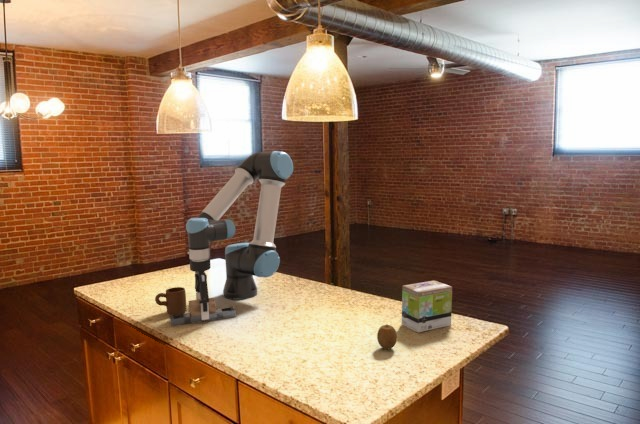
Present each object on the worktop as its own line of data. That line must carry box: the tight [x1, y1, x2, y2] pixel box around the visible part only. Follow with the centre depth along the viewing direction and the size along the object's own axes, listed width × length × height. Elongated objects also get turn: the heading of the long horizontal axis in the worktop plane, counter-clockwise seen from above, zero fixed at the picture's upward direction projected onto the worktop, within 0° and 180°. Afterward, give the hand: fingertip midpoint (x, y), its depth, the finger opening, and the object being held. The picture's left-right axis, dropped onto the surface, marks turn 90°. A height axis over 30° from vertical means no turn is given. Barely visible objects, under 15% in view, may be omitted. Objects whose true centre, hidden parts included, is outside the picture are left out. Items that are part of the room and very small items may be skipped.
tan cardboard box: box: [188, 297, 217, 317], centre depth 180 cm, size 9×7×7 cm
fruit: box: [376, 324, 398, 350], centre depth 149 cm, size 6×6×8 cm
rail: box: [169, 306, 237, 327], centre depth 180 cm, size 24×5×3 cm, turn 112°
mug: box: [154, 286, 187, 316], centre depth 187 cm, size 12×8×9 cm, turn 128°
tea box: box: [401, 280, 453, 334], centre depth 168 cm, size 15×10×15 cm
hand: (202, 313), depth 180 cm, fingers open, 13 cm apart
